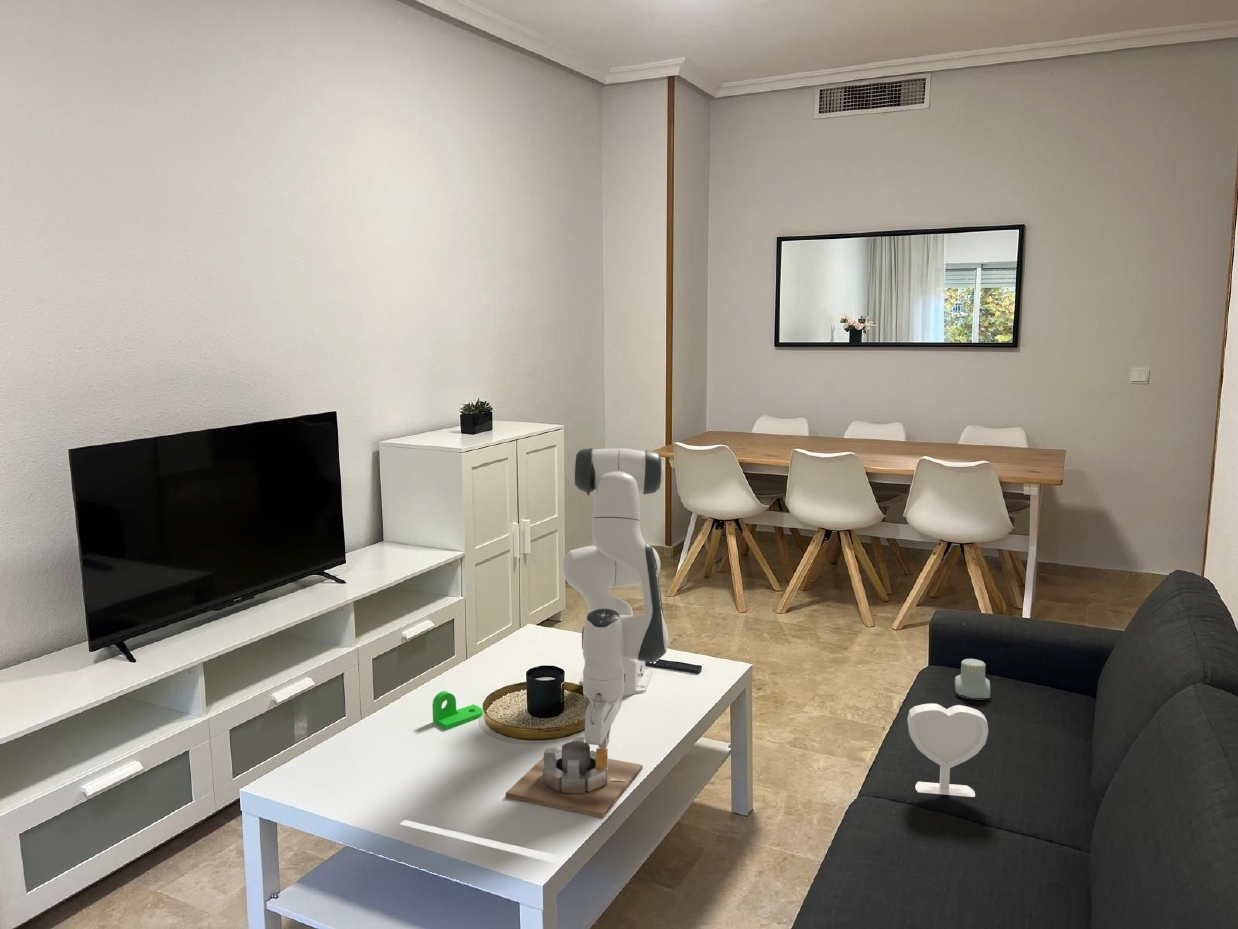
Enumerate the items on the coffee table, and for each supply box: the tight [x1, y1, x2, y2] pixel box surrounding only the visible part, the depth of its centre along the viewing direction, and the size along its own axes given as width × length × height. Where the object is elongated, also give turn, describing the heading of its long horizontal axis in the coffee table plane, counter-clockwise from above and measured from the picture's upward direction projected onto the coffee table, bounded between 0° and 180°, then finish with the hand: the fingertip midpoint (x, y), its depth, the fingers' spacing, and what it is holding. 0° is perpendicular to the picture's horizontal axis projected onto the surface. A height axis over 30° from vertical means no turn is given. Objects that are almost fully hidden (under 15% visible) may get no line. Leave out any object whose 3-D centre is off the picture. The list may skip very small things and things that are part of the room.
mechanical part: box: [431, 690, 484, 731], centre depth 228 cm, size 12×6×8 cm, turn 133°
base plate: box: [505, 741, 644, 819], centre depth 197 cm, size 22×22×8 cm
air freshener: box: [954, 658, 991, 698], centre depth 240 cm, size 11×8×10 cm
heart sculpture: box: [906, 703, 989, 798], centre depth 193 cm, size 16×5×18 cm, turn 79°
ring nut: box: [543, 736, 609, 793], centre depth 197 cm, size 14×14×6 cm
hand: (603, 745), depth 201 cm, fingers closed
